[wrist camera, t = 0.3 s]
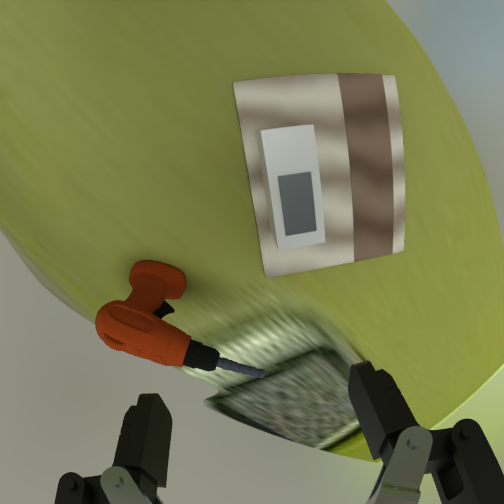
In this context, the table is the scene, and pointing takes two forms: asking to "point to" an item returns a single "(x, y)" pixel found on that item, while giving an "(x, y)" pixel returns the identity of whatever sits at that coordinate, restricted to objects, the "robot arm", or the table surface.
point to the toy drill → (157, 323)
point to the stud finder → (292, 185)
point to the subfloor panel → (333, 163)
